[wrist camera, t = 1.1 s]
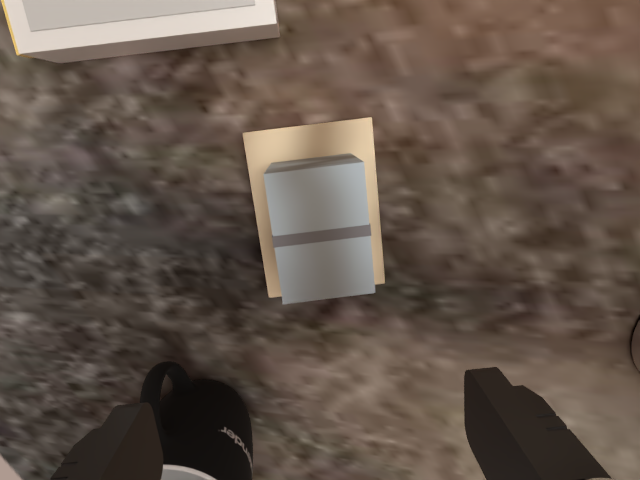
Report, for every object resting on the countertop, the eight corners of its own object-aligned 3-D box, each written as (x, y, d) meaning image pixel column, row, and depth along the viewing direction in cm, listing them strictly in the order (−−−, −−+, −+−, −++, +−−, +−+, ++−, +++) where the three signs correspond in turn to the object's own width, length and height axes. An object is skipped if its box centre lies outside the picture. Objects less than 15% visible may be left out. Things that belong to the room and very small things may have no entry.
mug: (274, 447, 35) (263, 571, 26) (168, 469, 36) (118, 600, 26) (236, 317, 32) (208, 403, 22) (120, 342, 32) (42, 437, 23)
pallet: (366, 117, 29) (391, 116, 21) (378, 271, 32) (405, 323, 24) (247, 131, 29) (225, 136, 21) (271, 284, 32) (260, 341, 24)
